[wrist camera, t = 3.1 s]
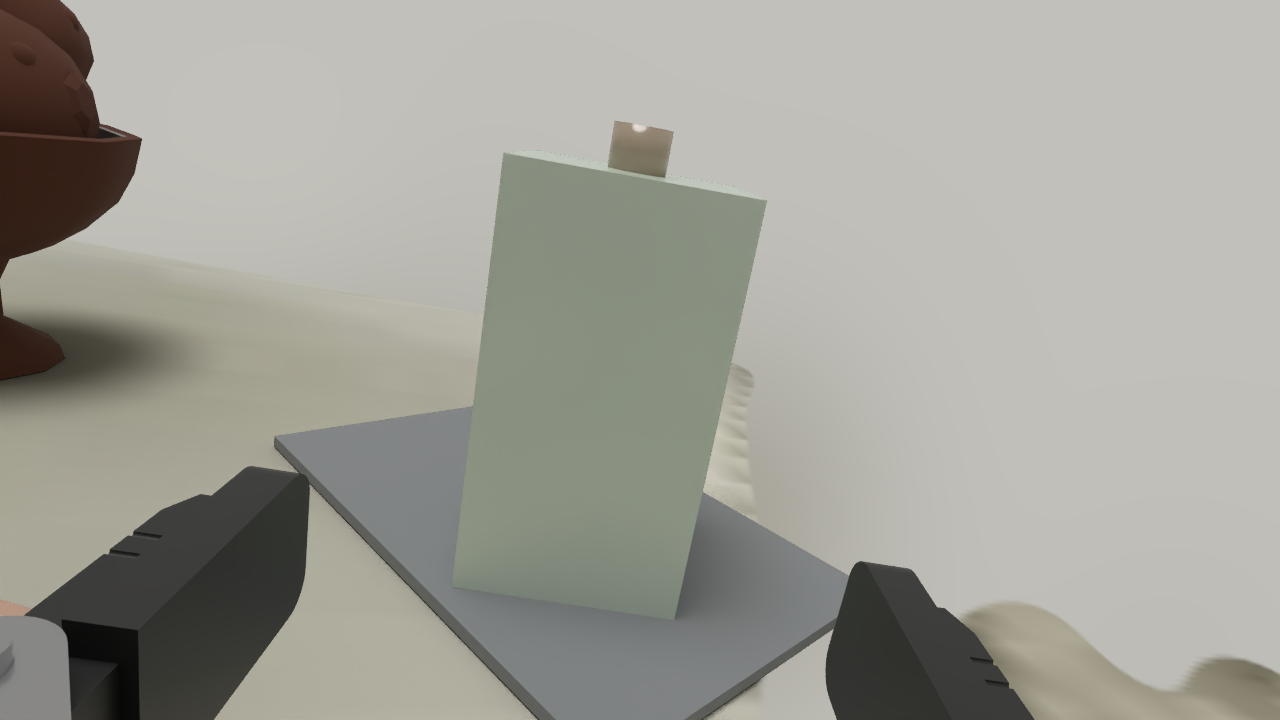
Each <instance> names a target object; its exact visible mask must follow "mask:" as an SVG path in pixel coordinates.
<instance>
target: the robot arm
mask: <svg viewBox="0 0 1280 720" xmlns="http://www.w3.org/2000/svg"><path fill="white" fill-rule="evenodd" d="M309 495H310V488H309V481H308V478H307V477H306V475H304V474H300V473H293V472H287V471H280V470H274V469H267V468H261V467H254V466H249V467H246V468H245V469H243V470H242V471H241V472H240V473H239V474H237V475H236V476H235V477H234V478H233V479H231V480H230V481H229V482H228V483H226V484H225V485H224V486H223V487H222V488H220V489H219V490H218V491H217V492H215V493H214V494H213V495H212V496H209V495H202V494H200V495H197V496H195V497H192V498H190V499H187V500H185V501H182V502H180V503H177V504H175V505H172V506H170V507H168V508H165V509H163V510H161V511H159V512H158V513H157V514H156V515H154V516H153V517H152V518H150V519H149V520H148V521H146V522H145V523H144V524H142V525H141V526H140V527H139V528H137V529H136V530H135V531H134V533H133V535H132V536H127V537H125V538H124V539H123V540H122V541H120V542H119V543H118V544H116V545H115V546H114V547H112V548H111V549H110V552H109V554H108V555H107V554H103V555H102V556H101V557H99V558H98V559H97V560H95V561H94V562H93V563H92V564H90V565H89V566H88V567H86V568H85V569H84V570H82V571H81V572H80V573H78V574H77V575H76V576H75V577H73V578H72V579H71V580H69V581H68V582H67V583H65V584H64V585H63V586H61V587H60V588H59V589H58V590H56V591H55V592H54V593H52V594H51V595H50V596H48V597H47V598H46V599H44V600H43V601H42V602H41V603H39V604H38V605H37V606H35V607H34V608H33V609H31V610H30V611H29V612H27V613H26V614H25V615H24V616H0V720H214V719H215V717H216V716H217V714H218V713H219V712H220V710H221V709H222V708H223V706H224V705H225V704H226V702H227V701H228V700H229V698H230V697H231V695H232V694H233V693H234V691H235V690H236V689H237V687H238V686H239V685H240V683H241V682H242V681H243V679H244V678H245V676H246V675H247V674H248V672H249V671H250V670H251V668H252V667H253V666H254V664H255V663H256V662H257V660H258V659H259V657H260V656H261V655H262V653H263V652H264V651H265V649H266V648H267V647H268V645H269V644H270V643H271V641H272V640H273V638H274V637H275V636H276V634H277V633H278V632H279V630H280V629H281V628H282V626H283V625H284V624H285V622H286V621H287V620H288V618H289V617H290V615H291V614H292V612H293V610H294V608H295V606H296V604H297V601H298V599H299V596H300V593H301V590H302V586H303V582H304V577H305V568H306V550H307V532H308V513H309ZM826 685H827V691H828V695H829V698H830V701H831V704H832V707H833V710H834V713H835V715H836V718H837V720H1034V718H1033V717H1032V715H1031V714H1030V712H1029V711H1028V710H1027V708H1026V707H1025V705H1024V704H1023V702H1022V701H1021V700H1020V698H1019V697H1018V695H1017V694H1016V692H1015V691H1014V689H1009V682H1008V681H1007V679H1006V678H1005V677H1004V675H1003V674H1002V672H1001V671H1000V669H999V668H998V667H997V666H995V665H993V659H992V658H991V656H990V655H989V654H988V652H987V651H986V649H985V648H984V646H983V645H982V644H981V642H980V641H979V639H978V638H977V636H976V635H975V633H973V632H972V631H971V630H970V629H969V628H967V627H966V626H965V625H964V624H963V623H961V622H960V621H959V620H958V619H957V618H956V617H954V616H953V615H952V614H951V613H950V612H948V611H947V610H946V609H945V608H938V607H936V605H935V603H934V602H933V601H932V599H931V597H930V596H929V594H928V593H927V591H926V590H925V588H924V587H923V585H922V584H921V582H920V581H919V579H918V577H917V576H916V575H915V573H914V572H913V571H912V570H910V569H908V568H901V567H895V566H888V565H881V564H875V563H869V562H862V561H860V562H858V563H856V564H855V565H854V567H853V568H852V571H851V573H850V576H849V579H848V582H847V586H846V589H845V592H844V596H843V599H842V603H841V606H840V610H839V613H838V617H837V620H836V624H835V627H834V630H833V634H832V637H831V641H830V644H829V648H828V652H827V658H826Z"/></svg>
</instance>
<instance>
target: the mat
mask: <svg viewBox="0 0 1280 720" xmlns="http://www.w3.org/2000/svg"><path fill="white" fill-rule="evenodd" d="M472 411H473V407H466V408H460V409H453V410H446V411H439V412H433V413H426V414H419V415H413V416H406V417H399V418H393V419H386V420H379V421H373V422H366V423H359V424H353V425H346V426H339V427H333V428H326V429H319V430H312V431H306V432H299V433H292V434H286V435H279V436H275V439H274V446H275V448H276V449H277V450H278V451H279V452H280V453H281V454H282V455H283V456H284V457H285V458H286V459H287V460H288V461H289V462H290V463H291V464H292V465H293V466H294V467H295V468H296V469H297V470H298V471H299V472H300V473H301V474H304V475H306V477H307V478H308V481H309V483H310V484H311V485H312V486H313V487H314V488H315V489H316V490H317V491H318V492H319V493H320V494H321V495H322V496H323V497H324V498H325V499H326V500H327V501H328V502H329V503H330V504H331V505H332V506H333V507H334V508H335V509H336V510H337V511H338V513H339V514H340V515H341V516H342V517H343V518H344V519H345V520H346V521H347V522H348V523H349V524H350V525H351V526H352V527H353V528H354V529H355V530H356V531H357V532H358V533H359V534H360V535H361V536H362V537H363V538H364V539H365V540H366V541H367V542H368V543H369V544H370V546H371V547H372V548H373V549H374V550H375V551H376V552H377V553H378V554H379V555H380V556H381V557H382V558H383V559H384V560H385V561H386V562H387V563H388V564H389V565H390V566H391V567H392V568H393V569H394V570H395V571H396V572H397V573H398V574H399V575H400V576H401V577H402V579H403V580H404V581H405V582H406V583H407V584H408V585H409V586H410V587H411V588H412V589H413V590H414V591H415V592H416V593H417V594H418V595H419V596H420V597H421V598H422V599H423V600H424V601H425V602H426V603H427V604H428V605H429V606H430V607H431V608H432V609H433V611H434V612H435V613H436V614H437V615H438V616H439V617H440V618H441V619H442V620H443V621H444V622H445V623H446V624H447V625H448V626H449V627H450V628H451V629H452V630H453V631H454V632H455V633H456V634H457V635H458V636H459V637H460V638H461V639H462V640H463V641H464V642H465V644H466V645H467V646H468V647H469V648H470V649H471V650H472V651H473V652H474V653H475V654H476V655H477V656H478V657H479V658H480V659H481V660H482V661H483V662H484V663H485V664H486V665H487V666H488V667H489V668H490V669H491V670H492V671H493V672H494V673H495V674H496V675H497V677H498V678H499V679H500V680H501V681H502V682H503V683H504V684H505V685H506V686H507V687H508V688H509V689H510V690H511V691H512V692H513V693H514V694H515V695H516V696H517V697H518V698H519V699H520V700H521V701H522V702H523V703H524V704H525V705H526V706H527V707H528V708H529V710H530V711H531V712H532V713H533V714H534V715H535V716H536V717H537V718H538V719H539V720H701V719H703V718H704V717H705V716H707V715H708V714H710V713H711V712H713V711H714V710H716V709H717V708H719V707H720V706H721V705H723V704H724V703H726V702H727V701H729V700H730V699H732V698H733V697H735V696H736V695H738V694H739V693H740V692H742V691H743V690H745V689H746V688H748V687H749V686H751V685H752V684H754V683H755V682H756V681H758V680H759V679H761V678H762V677H764V676H765V675H767V674H768V673H770V672H771V671H772V670H774V669H775V668H777V667H778V666H780V665H781V664H783V663H784V662H786V661H787V660H788V659H790V658H791V657H793V656H794V655H796V654H797V653H799V652H800V651H802V650H803V649H804V648H806V647H807V646H809V645H810V644H812V643H813V642H815V641H816V640H818V639H819V638H820V637H822V636H823V635H825V634H826V633H828V632H829V631H831V630H832V629H834V627H835V624H836V620H837V617H838V613H839V610H840V606H841V603H842V599H843V596H844V592H845V589H846V586H847V582H848V579H849V576H848V575H847V574H845V573H843V572H841V571H839V570H838V569H836V568H834V567H832V566H831V565H829V564H827V563H826V562H824V561H822V560H820V559H819V558H817V557H815V556H813V555H811V554H810V553H808V552H806V551H805V550H803V549H801V548H799V547H798V546H796V545H794V544H792V543H791V542H789V541H787V540H785V539H784V538H782V537H780V536H778V535H777V534H775V533H773V532H771V531H770V530H768V529H766V528H765V527H763V526H761V525H759V524H758V523H756V522H754V521H752V520H751V519H749V518H747V517H745V516H744V515H742V514H740V513H738V512H737V511H735V510H733V509H731V508H730V507H728V506H726V505H724V504H723V503H721V502H719V501H717V500H716V499H714V498H712V497H710V496H709V495H707V494H705V493H703V492H702V497H701V501H700V506H699V510H698V515H697V520H696V524H695V529H694V533H693V538H692V542H691V547H690V551H689V556H688V560H687V565H686V569H685V574H684V578H683V583H682V587H681V592H680V596H679V601H678V605H677V610H676V614H675V619H674V620H670V619H663V618H656V617H649V616H643V615H636V614H629V613H623V612H616V611H609V610H602V609H596V608H589V607H582V606H576V605H569V604H562V603H556V602H549V601H542V600H535V599H529V598H522V597H515V596H509V595H502V594H495V593H489V592H482V591H475V590H468V589H462V588H455V587H452V578H453V570H454V562H455V553H456V545H457V537H458V528H459V520H460V512H461V503H462V495H463V486H464V478H465V470H466V461H467V453H468V445H469V436H470V428H471V420H472Z"/></svg>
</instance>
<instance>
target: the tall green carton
mask: <svg viewBox="0 0 1280 720" xmlns="http://www.w3.org/2000/svg"><path fill="white" fill-rule="evenodd" d="M672 138H673V132H672V131H668V130H663V129H658V128H653V127H648V126H643V125H637V124H632V123H626V122H619V121H615V123H614V129H613V136H612V142H611V148H610V154H609V160H608V163H604V162H598V161H593V160H587V159H581V158H576V157H571V156H565V155H560V154H555V153H549V152H543V151H524V152H507V153H503V162H502V169H501V178H500V186H499V195H498V203H497V211H496V220H495V228H494V236H493V245H492V253H491V261H490V270H489V278H488V287H487V295H486V303H485V311H484V320H483V328H482V336H481V345H480V353H479V361H478V370H477V378H476V386H475V395H474V403H473V411H472V420H471V428H470V436H469V445H468V453H467V461H466V470H465V478H464V486H463V495H462V503H461V512H460V520H459V528H458V537H457V545H456V553H455V562H454V570H453V578H452V587H455V588H462V589H468V590H475V591H482V592H489V593H495V594H502V595H509V596H515V597H522V598H529V599H535V600H542V601H549V602H556V603H562V604H569V605H576V606H582V607H589V608H596V609H602V610H609V611H616V612H623V613H629V614H636V615H643V616H649V617H656V618H663V619H670V620H674V619H675V614H676V610H677V605H678V601H679V596H680V592H681V587H682V583H683V578H684V574H685V569H686V565H687V560H688V556H689V551H690V547H691V542H692V538H693V533H694V529H695V524H696V520H697V515H698V510H699V506H700V501H701V497H702V492H703V488H704V483H705V479H706V474H707V470H708V465H709V461H710V456H711V452H712V447H713V443H714V438H715V434H716V429H717V425H718V420H719V416H720V411H721V407H722V402H723V397H724V393H725V388H726V384H727V379H728V375H729V370H730V366H731V361H732V357H733V352H734V347H735V343H736V339H737V334H738V329H739V325H740V321H741V316H742V312H743V307H744V303H745V298H746V293H747V289H748V284H749V280H750V275H751V271H752V266H753V261H754V257H755V252H756V248H757V244H758V239H759V234H760V230H761V226H762V221H763V217H764V212H765V207H766V203H767V200H764V199H762V198H759V197H757V196H755V195H752V194H750V193H748V192H746V191H743V190H741V189H739V188H736V187H734V186H730V185H724V184H719V183H713V182H708V181H702V180H697V179H691V178H686V177H680V176H675V175H669V174H666V171H667V165H668V159H669V154H670V148H671V143H672Z"/></svg>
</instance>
